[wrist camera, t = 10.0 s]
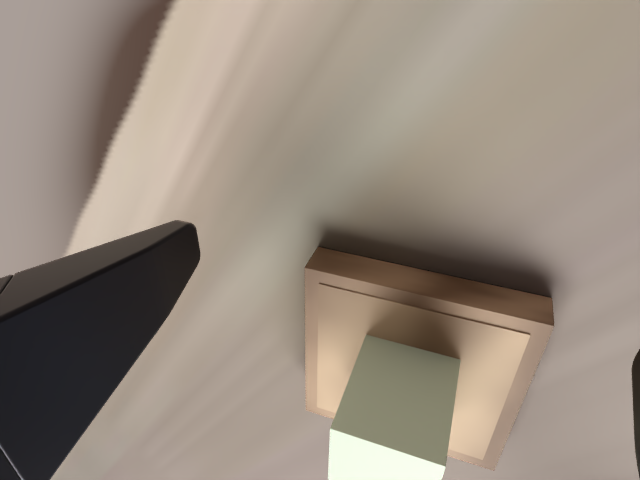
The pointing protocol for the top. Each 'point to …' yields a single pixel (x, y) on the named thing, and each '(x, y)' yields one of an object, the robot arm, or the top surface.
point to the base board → (426, 339)
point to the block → (394, 414)
